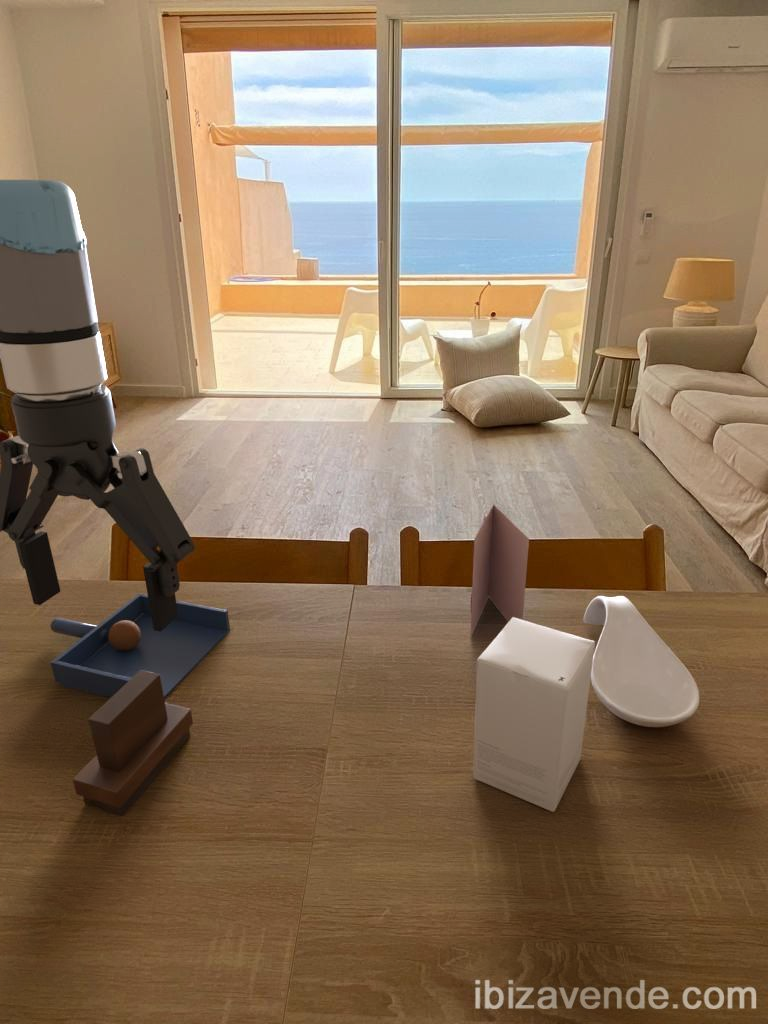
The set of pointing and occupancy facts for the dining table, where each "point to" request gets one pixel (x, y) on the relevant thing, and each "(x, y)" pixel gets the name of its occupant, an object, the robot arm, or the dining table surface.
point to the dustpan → (138, 647)
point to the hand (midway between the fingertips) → (105, 610)
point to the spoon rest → (637, 668)
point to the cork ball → (124, 635)
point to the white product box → (531, 711)
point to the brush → (131, 743)
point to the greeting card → (499, 567)
